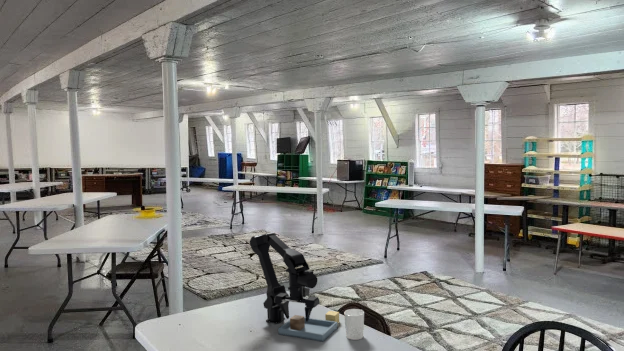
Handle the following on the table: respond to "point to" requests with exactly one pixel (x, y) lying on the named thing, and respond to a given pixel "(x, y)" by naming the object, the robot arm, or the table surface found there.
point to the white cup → (354, 323)
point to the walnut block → (297, 322)
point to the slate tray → (310, 329)
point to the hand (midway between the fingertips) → (297, 320)
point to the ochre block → (332, 316)
